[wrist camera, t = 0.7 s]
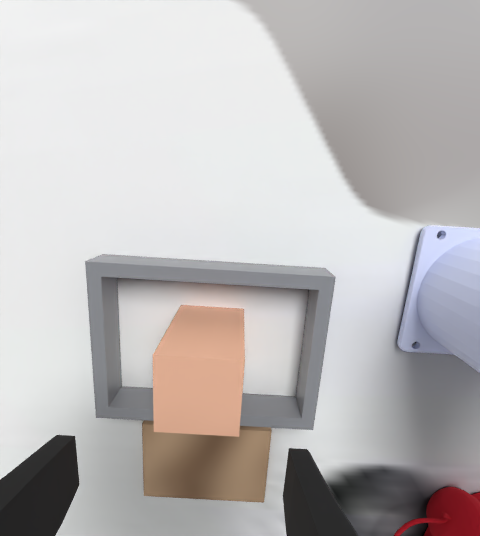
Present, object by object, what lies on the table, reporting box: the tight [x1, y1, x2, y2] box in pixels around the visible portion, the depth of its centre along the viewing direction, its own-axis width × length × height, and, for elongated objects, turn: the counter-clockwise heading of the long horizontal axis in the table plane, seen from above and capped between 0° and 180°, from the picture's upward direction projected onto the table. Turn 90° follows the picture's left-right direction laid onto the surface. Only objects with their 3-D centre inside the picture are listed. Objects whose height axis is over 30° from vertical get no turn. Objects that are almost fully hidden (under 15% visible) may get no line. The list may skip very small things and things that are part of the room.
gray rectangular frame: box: [85, 254, 335, 430], centre depth 18 cm, size 14×10×2 cm
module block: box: [153, 305, 245, 437], centre depth 16 cm, size 4×4×6 cm
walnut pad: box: [142, 420, 271, 502], centre depth 21 cm, size 9×6×1 cm
